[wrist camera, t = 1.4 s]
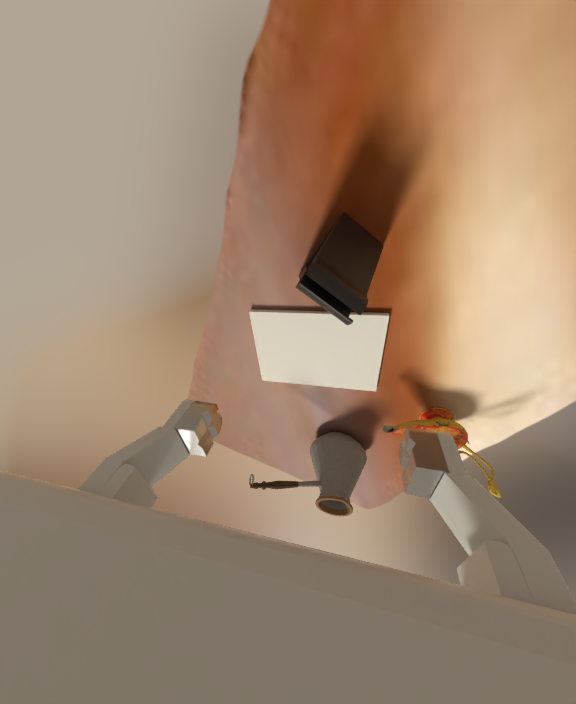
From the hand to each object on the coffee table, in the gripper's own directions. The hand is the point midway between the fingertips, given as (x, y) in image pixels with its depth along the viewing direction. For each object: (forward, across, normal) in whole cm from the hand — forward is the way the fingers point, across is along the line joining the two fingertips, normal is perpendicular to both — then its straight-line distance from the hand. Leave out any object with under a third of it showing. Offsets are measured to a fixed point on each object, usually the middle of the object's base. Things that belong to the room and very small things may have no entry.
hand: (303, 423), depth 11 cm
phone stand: (+26, 0, 0) cm, 26 cm away
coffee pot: (+26, +3, +36) cm, 44 cm away
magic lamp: (+26, -16, +26) cm, 40 cm away
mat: (+25, +3, +14) cm, 29 cm away
